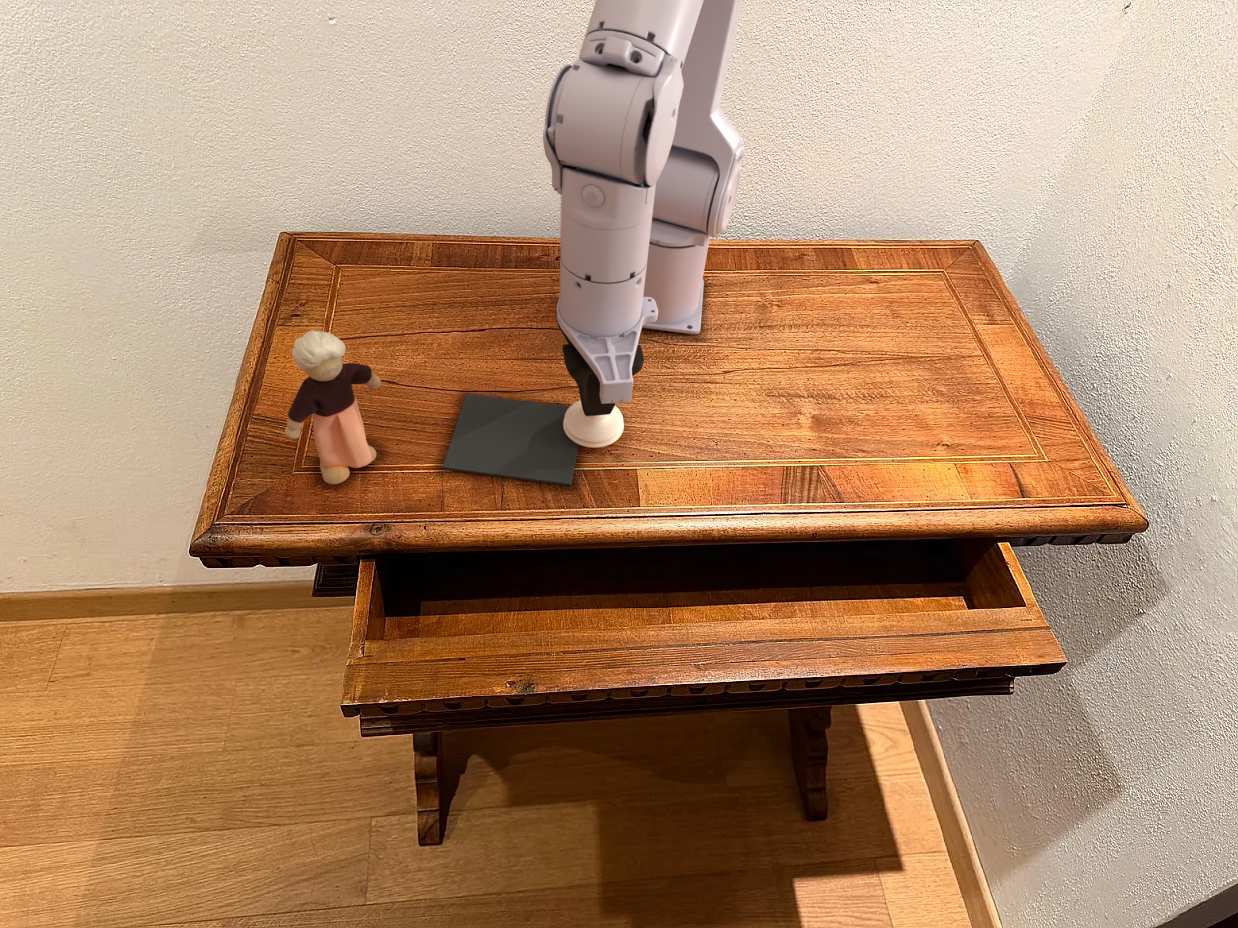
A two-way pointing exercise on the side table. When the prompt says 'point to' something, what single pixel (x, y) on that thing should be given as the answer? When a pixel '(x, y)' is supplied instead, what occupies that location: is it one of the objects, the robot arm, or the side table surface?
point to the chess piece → (592, 426)
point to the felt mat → (512, 441)
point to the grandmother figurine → (331, 404)
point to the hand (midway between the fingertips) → (595, 400)
